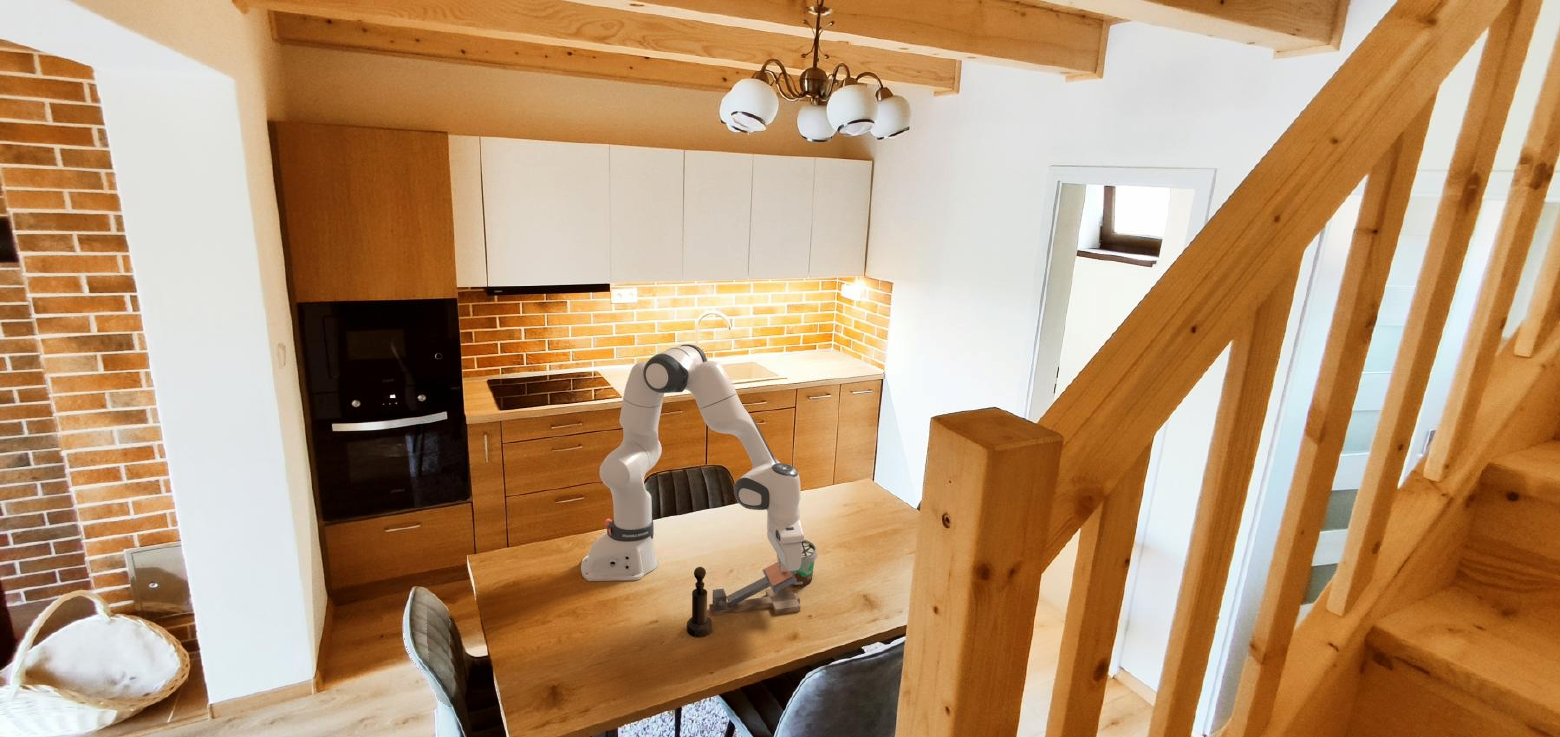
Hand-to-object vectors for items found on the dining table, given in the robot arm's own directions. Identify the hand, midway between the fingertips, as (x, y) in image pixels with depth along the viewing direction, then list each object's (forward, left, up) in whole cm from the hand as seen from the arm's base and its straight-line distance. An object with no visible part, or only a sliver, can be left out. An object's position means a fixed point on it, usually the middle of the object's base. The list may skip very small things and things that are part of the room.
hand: (782, 569), depth 202 cm
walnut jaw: (-8, 0, -11) cm, 13 cm away
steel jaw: (-6, 0, -5) cm, 7 cm away
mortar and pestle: (-24, -7, -11) cm, 27 cm away
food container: (+10, +10, -11) cm, 18 cm away
